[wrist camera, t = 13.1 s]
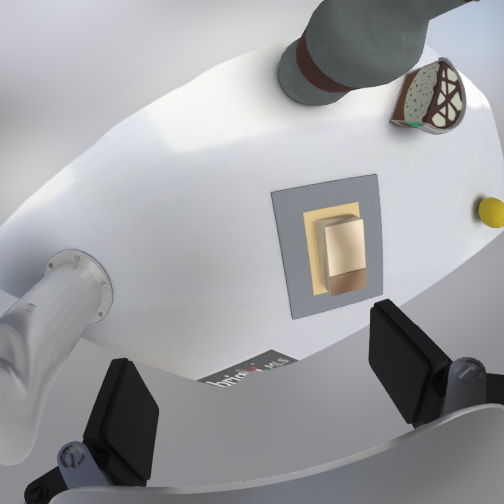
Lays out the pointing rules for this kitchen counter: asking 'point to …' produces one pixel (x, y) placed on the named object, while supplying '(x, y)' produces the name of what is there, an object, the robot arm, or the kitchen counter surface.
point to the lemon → (492, 212)
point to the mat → (306, 244)
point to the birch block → (341, 253)
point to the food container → (431, 98)
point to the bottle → (357, 46)
